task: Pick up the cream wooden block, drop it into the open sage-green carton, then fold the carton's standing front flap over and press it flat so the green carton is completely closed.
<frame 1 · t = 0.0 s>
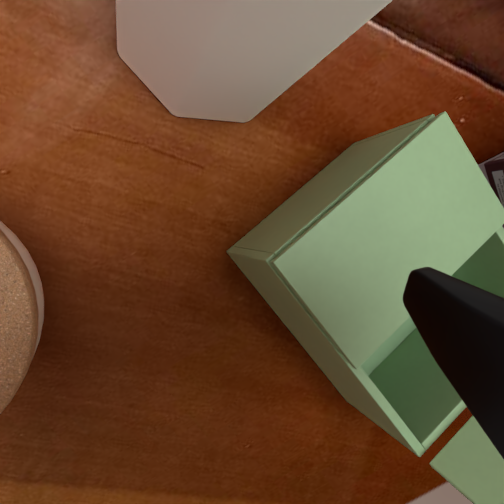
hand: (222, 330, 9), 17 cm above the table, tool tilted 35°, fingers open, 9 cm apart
carton: (349, 273, 28), on the table
cup: (211, 30, 25), on the table
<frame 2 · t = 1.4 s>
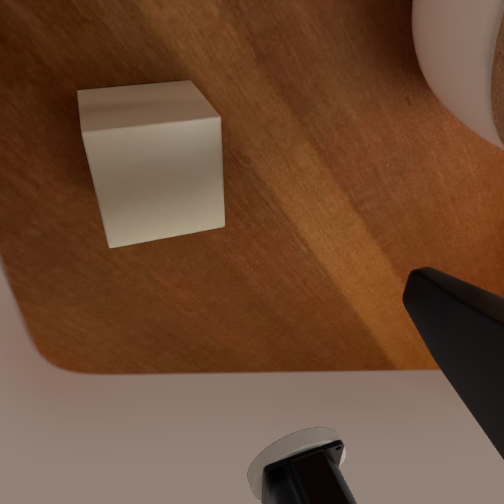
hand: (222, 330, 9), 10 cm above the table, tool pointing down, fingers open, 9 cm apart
block: (143, 138, 17), on the table
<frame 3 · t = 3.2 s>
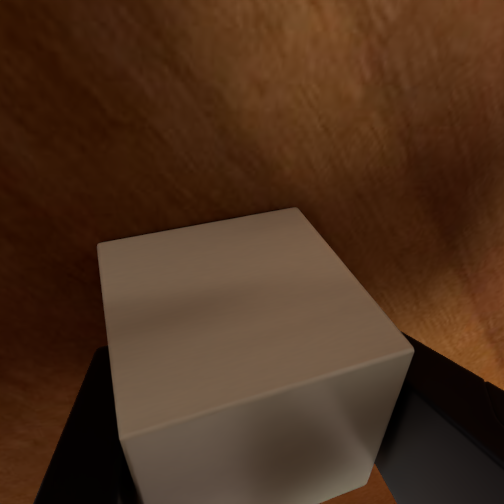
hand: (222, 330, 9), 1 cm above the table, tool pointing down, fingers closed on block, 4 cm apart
block: (208, 297, 10), on the table, touching gripper
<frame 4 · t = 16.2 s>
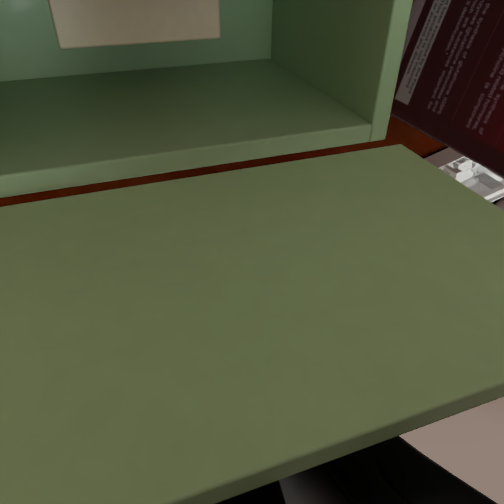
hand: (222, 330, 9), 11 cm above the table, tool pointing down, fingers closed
supplement box: (452, 8, 18), on the table
flap: (228, 275, 7), point 11 cm above the table, hinge at 89.9°, touching gripper
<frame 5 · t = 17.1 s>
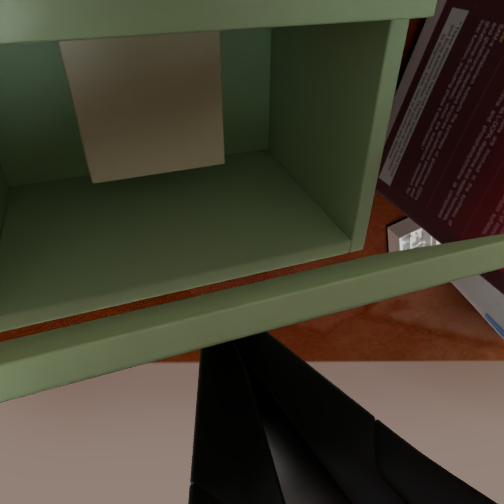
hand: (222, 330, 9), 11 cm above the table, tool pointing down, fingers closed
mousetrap: (499, 196, 27), on the table
supplement box: (430, 96, 20), on the table
block: (133, 69, 15), resting on carton
flap: (218, 307, 8), point 11 cm above the table, hinge at 48.6°, touching gripper
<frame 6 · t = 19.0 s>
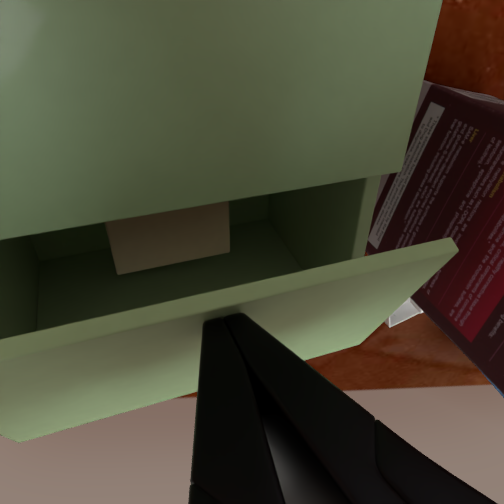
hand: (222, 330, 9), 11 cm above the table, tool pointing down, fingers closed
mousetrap: (481, 243, 29), on the table, touching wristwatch
supplement box: (414, 165, 22), on the table
block: (150, 163, 17), resting on carton
carton: (139, 96, 16), on the table
flap: (212, 350, 11), point 9 cm above the table, hinge at 22.7°
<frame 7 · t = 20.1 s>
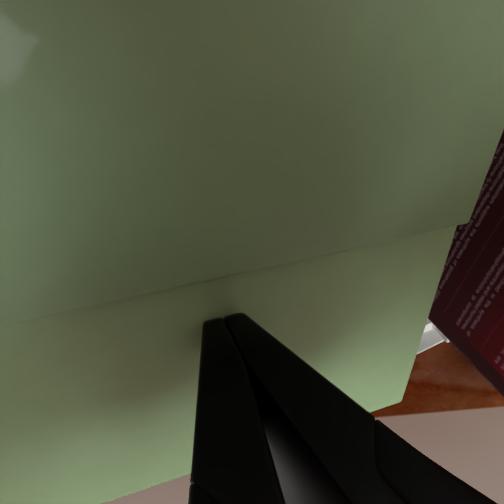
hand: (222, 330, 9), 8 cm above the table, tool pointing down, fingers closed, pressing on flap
supplement box: (445, 188, 20), on the table
carton: (150, 120, 14), on the table
flap: (223, 378, 10), point 8 cm above the table, hinge at -2.3°, touching gripper
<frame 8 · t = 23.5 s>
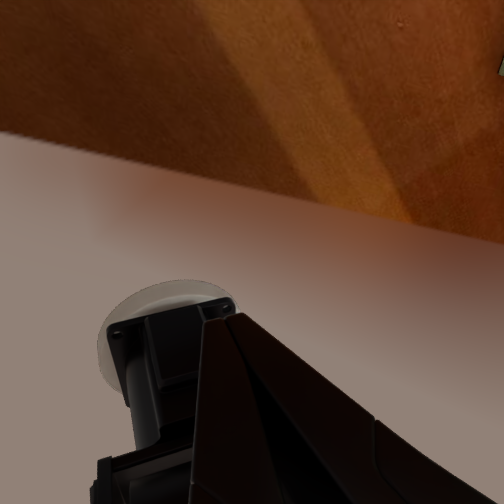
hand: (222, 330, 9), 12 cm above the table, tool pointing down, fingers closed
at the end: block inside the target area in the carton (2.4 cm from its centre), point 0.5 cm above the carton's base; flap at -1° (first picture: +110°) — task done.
